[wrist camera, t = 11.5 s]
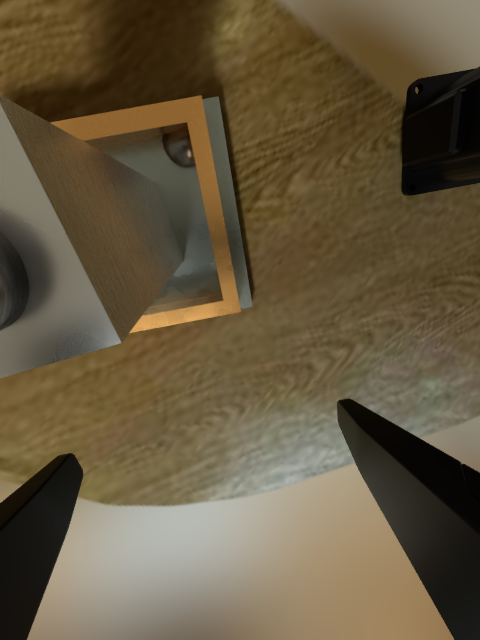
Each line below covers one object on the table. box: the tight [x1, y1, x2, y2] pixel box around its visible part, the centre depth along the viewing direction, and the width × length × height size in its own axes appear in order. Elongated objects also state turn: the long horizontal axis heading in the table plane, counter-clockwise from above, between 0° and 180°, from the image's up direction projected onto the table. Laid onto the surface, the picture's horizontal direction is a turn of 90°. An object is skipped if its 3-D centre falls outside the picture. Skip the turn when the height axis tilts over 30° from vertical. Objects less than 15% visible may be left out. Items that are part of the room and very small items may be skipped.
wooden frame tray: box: [50, 95, 253, 333], centre depth 17 cm, size 14×13×3 cm
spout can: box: [0, 95, 184, 378], centre depth 11 cm, size 6×5×14 cm
